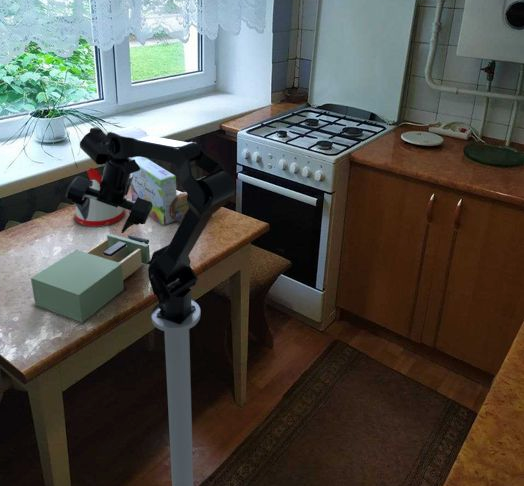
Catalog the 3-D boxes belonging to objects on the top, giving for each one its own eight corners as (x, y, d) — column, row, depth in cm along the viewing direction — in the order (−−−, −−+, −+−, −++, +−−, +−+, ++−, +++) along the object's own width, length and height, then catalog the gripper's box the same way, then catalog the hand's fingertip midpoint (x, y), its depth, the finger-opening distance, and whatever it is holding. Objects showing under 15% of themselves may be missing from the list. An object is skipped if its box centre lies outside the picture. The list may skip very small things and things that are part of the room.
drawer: (122, 243, 134) (120, 226, 132) (159, 255, 130) (159, 237, 128) (77, 274, 120) (74, 255, 118) (117, 288, 116) (116, 268, 114)
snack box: (130, 201, 161) (127, 158, 156) (145, 197, 165) (143, 154, 159) (162, 226, 147) (160, 179, 141) (179, 220, 150) (177, 174, 144)
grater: (119, 256, 126) (118, 240, 125) (128, 258, 126) (126, 243, 124) (103, 267, 121) (102, 251, 120) (112, 270, 120) (110, 254, 119)
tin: (175, 226, 147) (174, 200, 143) (168, 223, 148) (167, 197, 145) (209, 209, 158) (210, 185, 155) (202, 206, 160) (202, 182, 156)
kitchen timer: (107, 201, 160) (103, 158, 155) (132, 215, 152) (129, 170, 147) (67, 215, 151) (61, 169, 145) (92, 230, 142) (87, 182, 137)
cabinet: (79, 274, 122) (76, 249, 119) (123, 289, 117) (121, 263, 114) (35, 304, 110) (30, 277, 108) (82, 322, 105) (78, 295, 103)
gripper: (166, 171, 118) (151, 217, 126) (89, 143, 115) (80, 192, 124) (152, 199, 108) (137, 246, 117) (69, 169, 106) (60, 220, 115)
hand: (104, 225), depth 119 cm, fingers open, 9 cm apart
